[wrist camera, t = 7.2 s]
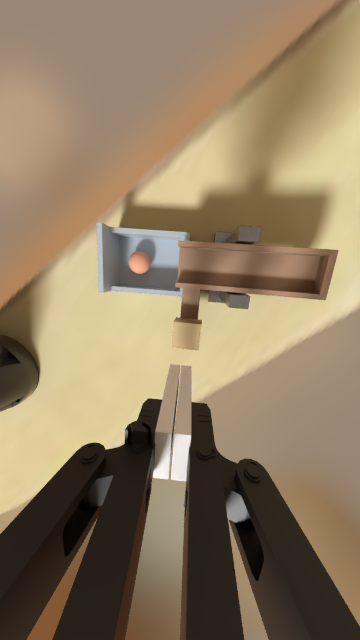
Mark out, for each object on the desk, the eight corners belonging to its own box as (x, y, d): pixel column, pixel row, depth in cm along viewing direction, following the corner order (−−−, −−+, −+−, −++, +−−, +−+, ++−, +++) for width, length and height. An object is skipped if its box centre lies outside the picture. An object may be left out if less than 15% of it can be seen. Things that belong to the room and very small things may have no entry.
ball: (137, 273, 34) (123, 272, 31) (138, 252, 33) (123, 249, 30) (154, 274, 32) (141, 274, 29) (155, 252, 31) (141, 250, 28)
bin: (117, 287, 35) (98, 292, 28) (116, 232, 32) (96, 222, 26) (185, 293, 34) (183, 299, 27) (189, 237, 32) (188, 228, 25)
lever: (174, 339, 30) (170, 347, 27) (180, 243, 26) (177, 239, 23) (299, 353, 28) (311, 363, 25) (324, 252, 25) (341, 249, 21)
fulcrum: (208, 300, 34) (213, 312, 25) (215, 232, 31) (224, 216, 22) (286, 307, 33) (321, 321, 24) (301, 238, 31) (347, 224, 22)
